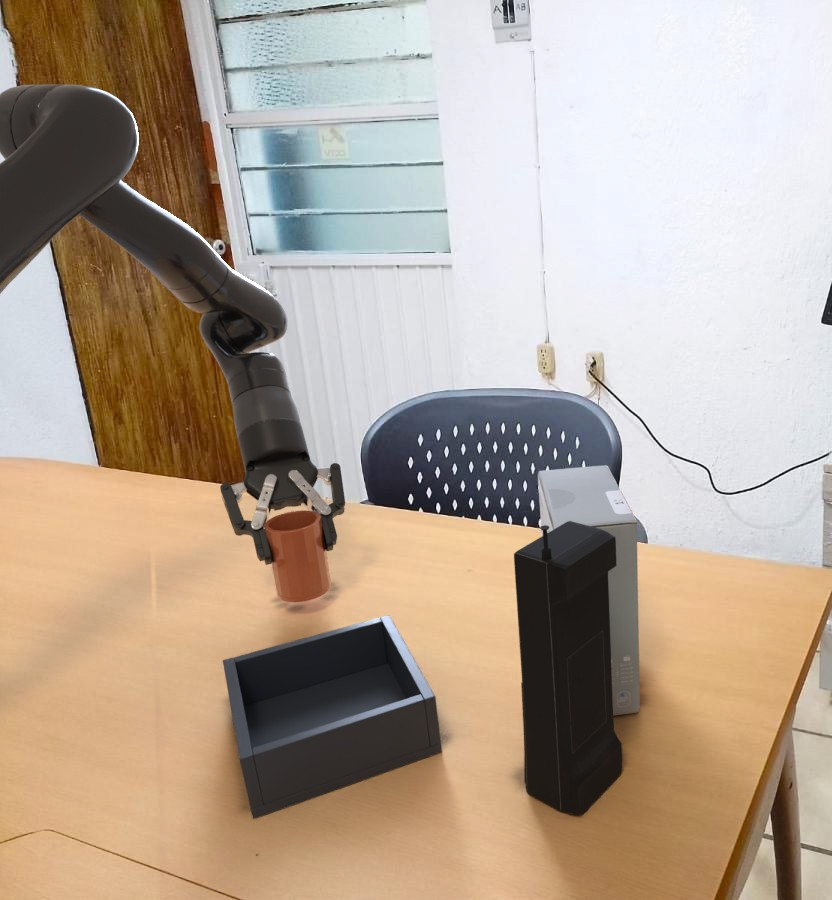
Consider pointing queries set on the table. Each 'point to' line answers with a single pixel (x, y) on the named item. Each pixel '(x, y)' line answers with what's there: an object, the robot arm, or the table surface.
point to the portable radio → (567, 666)
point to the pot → (298, 556)
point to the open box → (328, 713)
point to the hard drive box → (604, 507)
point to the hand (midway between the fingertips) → (300, 554)
